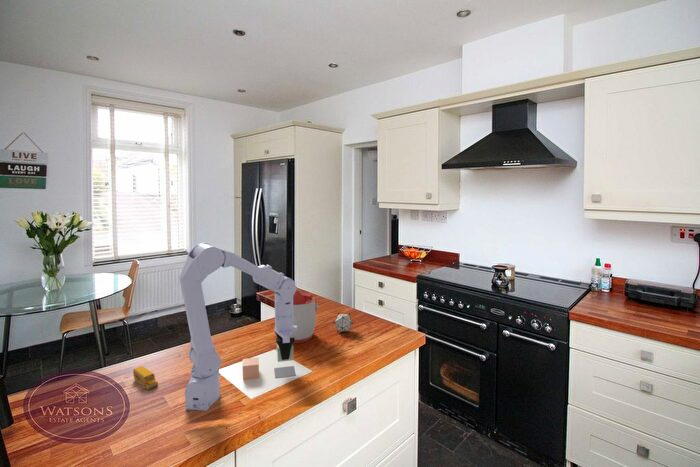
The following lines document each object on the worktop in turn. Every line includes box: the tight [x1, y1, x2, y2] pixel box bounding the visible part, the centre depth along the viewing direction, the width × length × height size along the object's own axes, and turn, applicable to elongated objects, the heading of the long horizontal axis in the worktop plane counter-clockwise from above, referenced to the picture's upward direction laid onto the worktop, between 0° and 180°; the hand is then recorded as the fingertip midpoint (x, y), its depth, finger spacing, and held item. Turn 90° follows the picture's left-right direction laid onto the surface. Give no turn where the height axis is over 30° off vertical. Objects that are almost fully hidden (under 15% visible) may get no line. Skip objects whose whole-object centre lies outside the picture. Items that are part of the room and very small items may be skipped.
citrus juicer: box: [290, 289, 321, 344], centre depth 139 cm, size 16×17×20 cm
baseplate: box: [219, 348, 313, 400], centre depth 113 cm, size 22×22×1 cm
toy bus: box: [132, 365, 159, 391], centre depth 107 cm, size 3×10×4 cm, turn 52°
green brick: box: [276, 343, 294, 362], centre depth 112 cm, size 5×5×4 cm
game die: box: [332, 312, 355, 334], centre depth 148 cm, size 9×8×10 cm
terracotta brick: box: [242, 357, 259, 380], centre depth 110 cm, size 5×5×4 cm
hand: (284, 355), depth 112 cm, fingers closed on green brick, 5 cm apart
